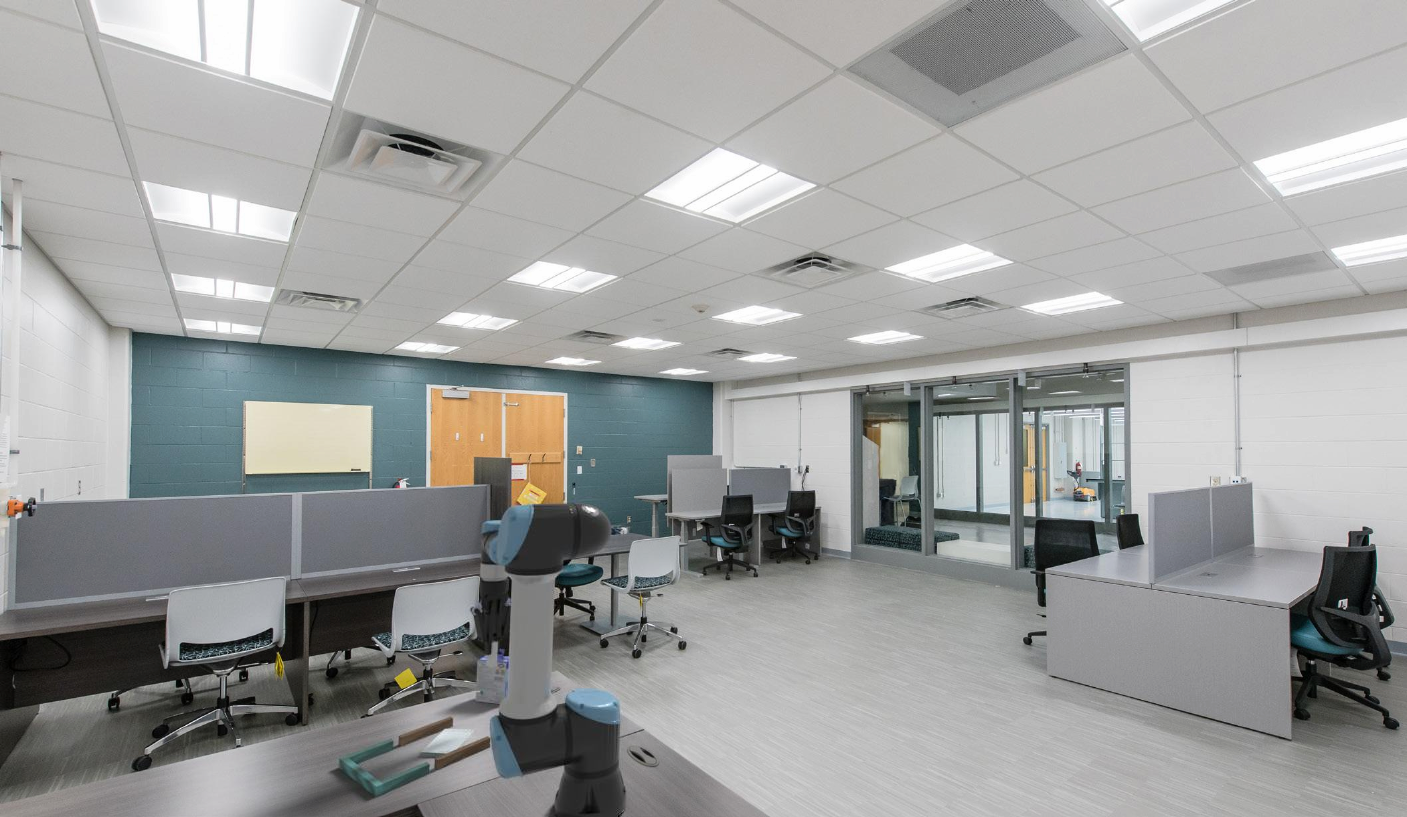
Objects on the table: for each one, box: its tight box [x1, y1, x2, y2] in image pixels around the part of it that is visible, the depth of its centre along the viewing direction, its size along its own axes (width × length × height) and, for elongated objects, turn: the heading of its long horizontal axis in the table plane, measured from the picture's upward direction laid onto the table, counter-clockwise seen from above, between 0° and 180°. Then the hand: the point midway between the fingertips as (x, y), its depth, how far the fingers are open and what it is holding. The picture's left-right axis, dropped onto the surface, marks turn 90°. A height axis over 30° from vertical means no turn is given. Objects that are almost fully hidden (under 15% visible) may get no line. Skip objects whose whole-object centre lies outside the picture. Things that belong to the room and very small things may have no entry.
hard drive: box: [419, 728, 475, 758], centre depth 155 cm, size 2×8×12 cm
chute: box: [338, 716, 491, 798], centre depth 149 cm, size 19×28×2 cm
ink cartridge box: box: [475, 648, 509, 705], centre depth 182 cm, size 10×6×14 cm, turn 78°
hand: (491, 665), depth 166 cm, fingers closed
